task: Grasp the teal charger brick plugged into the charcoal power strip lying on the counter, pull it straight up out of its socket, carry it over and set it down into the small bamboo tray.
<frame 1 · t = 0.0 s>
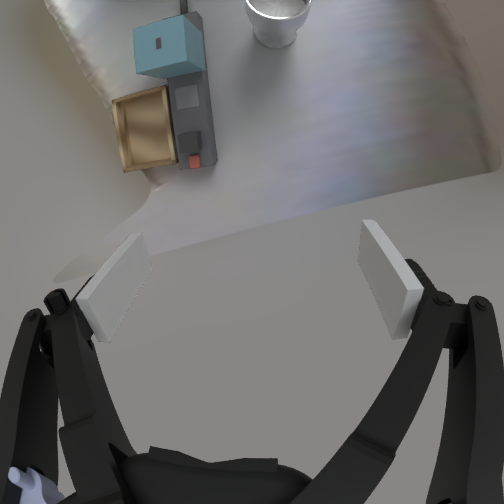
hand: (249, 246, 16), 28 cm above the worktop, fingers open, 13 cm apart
power strip: (192, 88, 35), on the worktop
charger: (182, 55, 30), point 3 cm above the worktop, touching power strip
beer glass: (275, 31, 30), on the worktop
tray: (151, 127, 38), on the worktop
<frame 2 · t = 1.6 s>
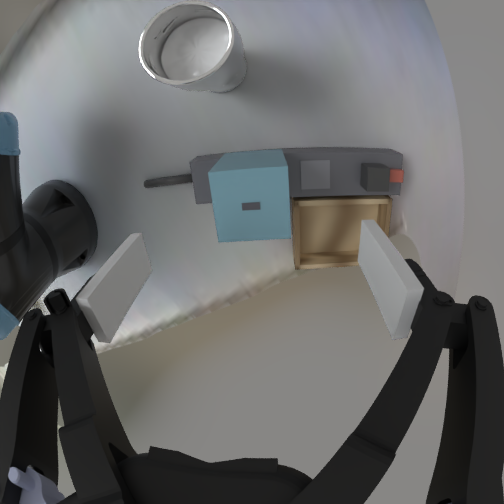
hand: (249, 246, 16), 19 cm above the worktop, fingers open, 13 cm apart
power strip: (298, 168, 32), on the worktop
charger: (255, 177, 29), point 3 cm above the worktop, touching power strip
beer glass: (220, 68, 26), on the worktop
tray: (337, 223, 35), on the worktop
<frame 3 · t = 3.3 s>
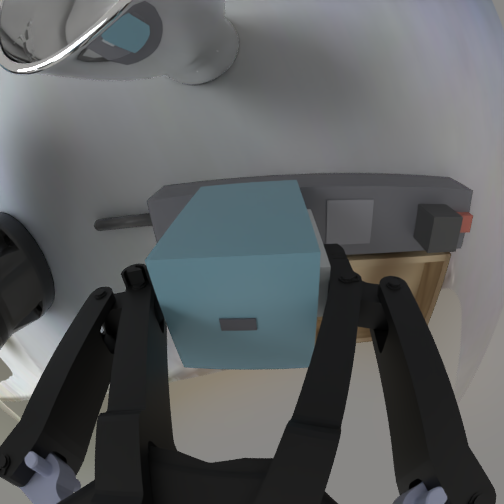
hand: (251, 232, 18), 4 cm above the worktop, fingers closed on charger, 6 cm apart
power strip: (319, 204, 21), on the worktop
charger: (252, 226, 18), point 4 cm above the worktop, touching gripper, power strip
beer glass: (197, 47, 16), on the worktop
tray: (369, 280, 24), on the worktop
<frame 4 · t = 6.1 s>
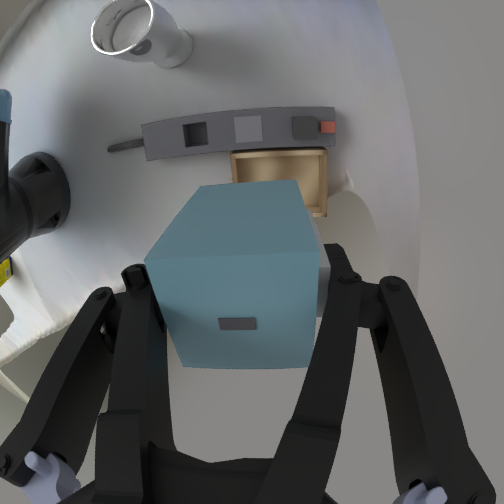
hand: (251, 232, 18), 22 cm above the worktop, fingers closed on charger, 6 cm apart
power strip: (238, 127, 34), on the worktop
charger: (251, 226, 18), point 21 cm above the worktop, touching gripper
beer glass: (171, 48, 28), on the worktop
supplement box: (5, 260, 47), on the worktop
tray: (279, 178, 37), on the worktop
when the fingers open (5 cm above the worktop, at t = 8.6 s): charger stays where it is, resting on tray.
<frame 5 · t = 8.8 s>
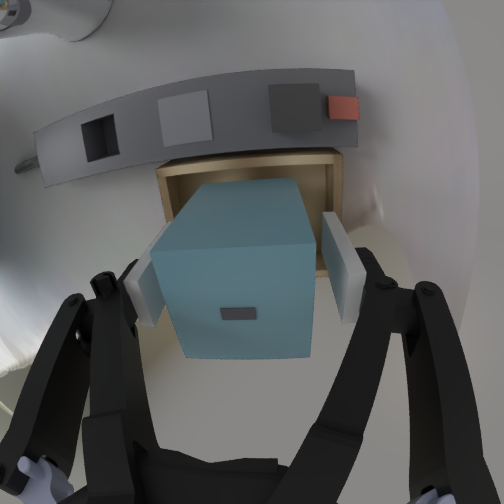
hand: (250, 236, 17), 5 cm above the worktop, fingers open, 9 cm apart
power strip: (179, 119, 18), on the worktop
charger: (251, 222, 19), point 3 cm above the worktop, touching tray
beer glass: (85, 12, 13), on the worktop
tray: (255, 206, 22), on the worktop
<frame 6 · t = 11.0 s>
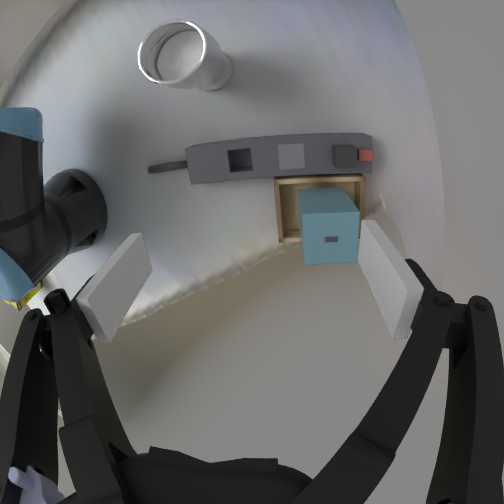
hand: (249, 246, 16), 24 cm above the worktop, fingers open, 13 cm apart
power strip: (279, 153, 36), on the worktop
charger: (320, 209, 36), point 3 cm above the worktop, touching tray
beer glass: (210, 70, 31), on the worktop
supplement box: (34, 273, 53), on the worktop
tray: (317, 201, 39), on the worktop
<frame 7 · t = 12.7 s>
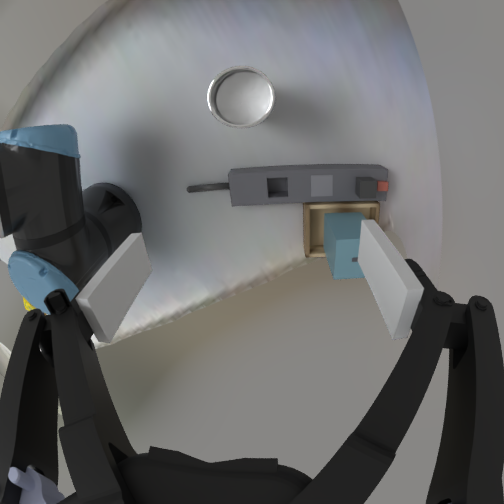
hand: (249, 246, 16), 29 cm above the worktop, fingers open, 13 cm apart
power strip: (308, 180, 42), on the worktop
charger: (342, 230, 43), point 3 cm above the worktop, touching tray
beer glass: (250, 101, 37), on the worktop
tray: (338, 222, 45), on the worktop
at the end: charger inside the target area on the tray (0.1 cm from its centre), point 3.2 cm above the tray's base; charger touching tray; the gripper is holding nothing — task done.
